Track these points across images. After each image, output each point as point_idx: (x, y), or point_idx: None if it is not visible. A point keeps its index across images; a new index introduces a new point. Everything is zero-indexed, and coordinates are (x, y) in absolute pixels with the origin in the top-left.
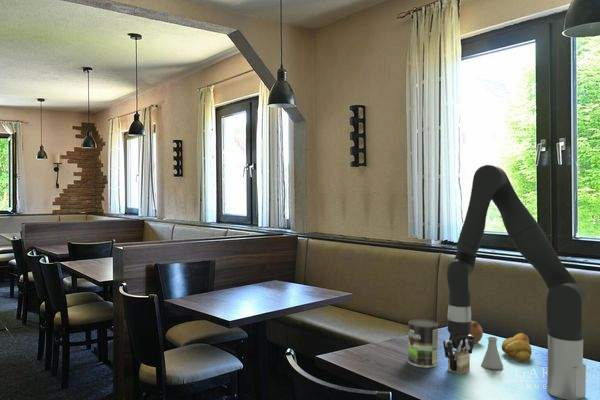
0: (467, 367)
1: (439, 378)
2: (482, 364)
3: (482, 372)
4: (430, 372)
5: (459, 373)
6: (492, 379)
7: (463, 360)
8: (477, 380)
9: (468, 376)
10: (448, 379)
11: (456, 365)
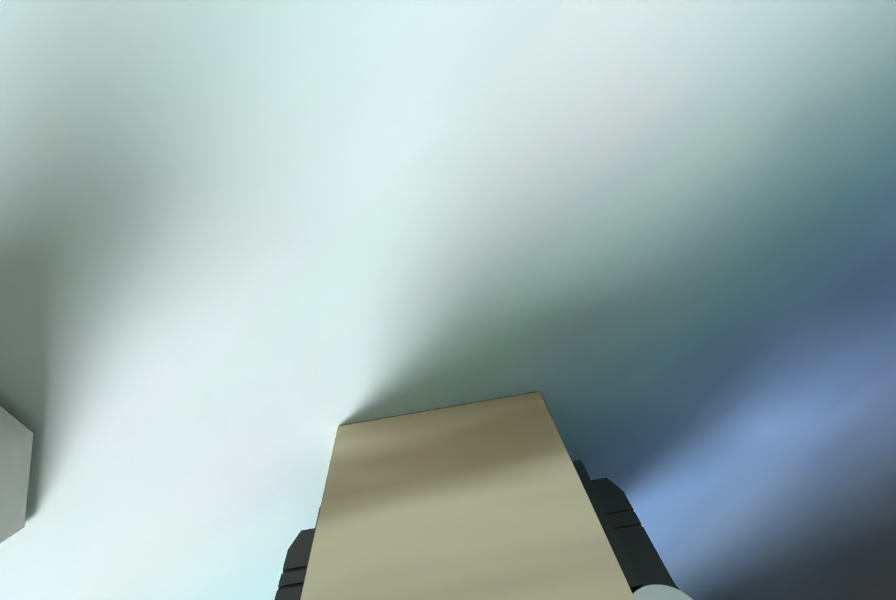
0: (382, 460)
1: (865, 389)
2: (8, 515)
3: (182, 335)
4: (781, 548)
5: (544, 406)
6: (228, 42)
7: (504, 545)
8: (497, 125)
9: (493, 300)
10: (809, 325)
11: None
